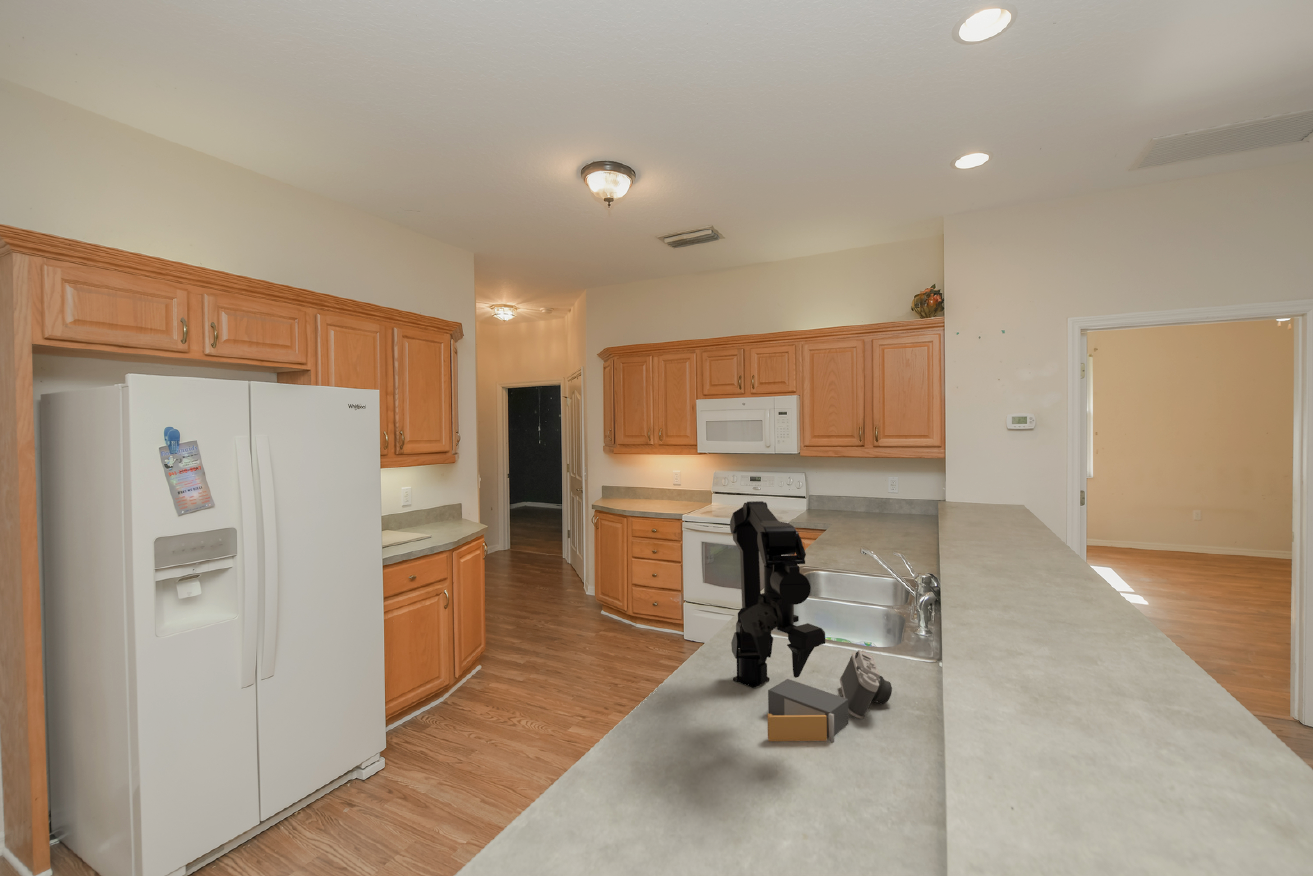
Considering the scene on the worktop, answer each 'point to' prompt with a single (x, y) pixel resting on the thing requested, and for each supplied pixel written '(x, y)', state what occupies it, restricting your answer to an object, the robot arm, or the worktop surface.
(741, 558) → the robot arm
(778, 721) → the brown rectangular block
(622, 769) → the worktop surface
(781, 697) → the case
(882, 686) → the camera
